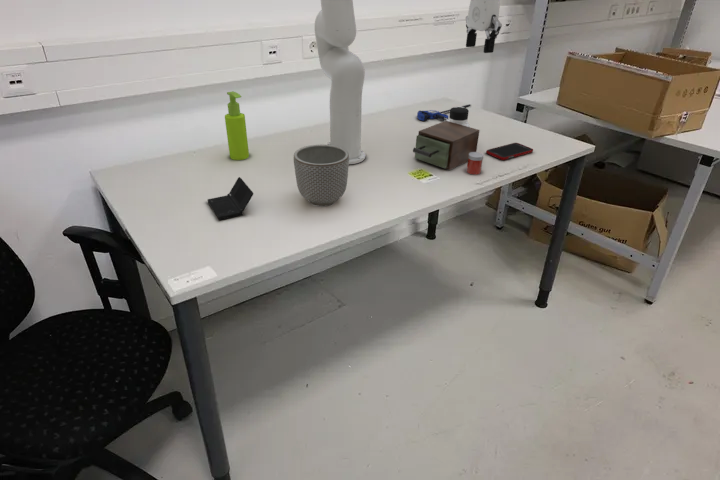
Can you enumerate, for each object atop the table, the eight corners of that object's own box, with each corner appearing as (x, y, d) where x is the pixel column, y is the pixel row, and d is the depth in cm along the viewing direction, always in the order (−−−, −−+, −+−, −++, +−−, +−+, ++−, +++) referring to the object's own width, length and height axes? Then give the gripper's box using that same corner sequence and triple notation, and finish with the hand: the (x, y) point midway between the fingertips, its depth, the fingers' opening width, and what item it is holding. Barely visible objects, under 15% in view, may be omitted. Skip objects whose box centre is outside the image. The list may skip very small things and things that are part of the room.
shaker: (471, 175, 144) (473, 158, 141) (463, 170, 148) (465, 152, 145) (483, 173, 146) (486, 156, 143) (475, 168, 149) (478, 151, 146)
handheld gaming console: (199, 199, 124) (219, 166, 123) (221, 207, 130) (241, 176, 128) (219, 222, 118) (241, 188, 116) (241, 230, 123) (262, 197, 122)
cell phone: (533, 152, 161) (534, 149, 160) (502, 161, 154) (503, 158, 153) (515, 144, 166) (516, 142, 166) (484, 153, 159) (485, 150, 159)
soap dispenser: (237, 162, 149) (228, 96, 139) (226, 155, 154) (218, 91, 143) (254, 158, 152) (247, 93, 142) (243, 151, 157) (236, 88, 146)
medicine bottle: (467, 146, 164) (472, 111, 158) (446, 146, 164) (450, 111, 158) (464, 139, 170) (468, 105, 164) (443, 139, 170) (447, 104, 164)
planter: (326, 184, 137) (326, 140, 130) (359, 202, 128) (360, 155, 121) (285, 198, 129) (282, 152, 122) (317, 218, 120) (315, 169, 114)
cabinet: (449, 170, 147) (453, 141, 142) (416, 158, 154) (418, 130, 150) (475, 157, 156) (479, 129, 152) (443, 147, 164) (446, 120, 159)
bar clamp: (434, 118, 182) (413, 112, 188) (433, 124, 183) (412, 118, 189) (482, 105, 202) (462, 99, 208) (481, 110, 203) (461, 105, 209)
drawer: (435, 173, 143) (437, 149, 139) (404, 162, 149) (406, 139, 146) (469, 156, 154) (472, 134, 151) (439, 147, 161) (442, 125, 157)
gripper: (460, -15, 149) (454, 45, 158) (494, -10, 135) (484, 55, 144) (481, -15, 151) (473, 44, 160) (516, -10, 138) (506, 54, 147)
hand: (479, 49), depth 152 cm, fingers open, 9 cm apart
